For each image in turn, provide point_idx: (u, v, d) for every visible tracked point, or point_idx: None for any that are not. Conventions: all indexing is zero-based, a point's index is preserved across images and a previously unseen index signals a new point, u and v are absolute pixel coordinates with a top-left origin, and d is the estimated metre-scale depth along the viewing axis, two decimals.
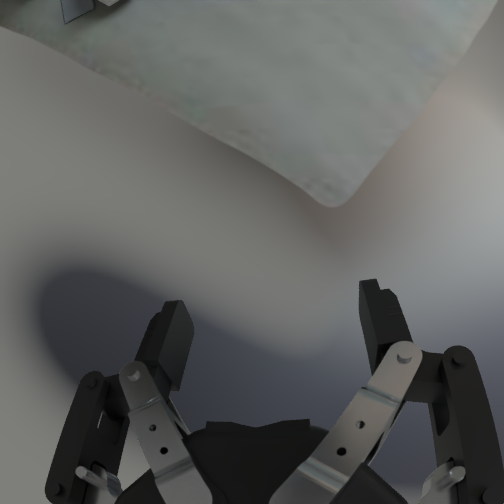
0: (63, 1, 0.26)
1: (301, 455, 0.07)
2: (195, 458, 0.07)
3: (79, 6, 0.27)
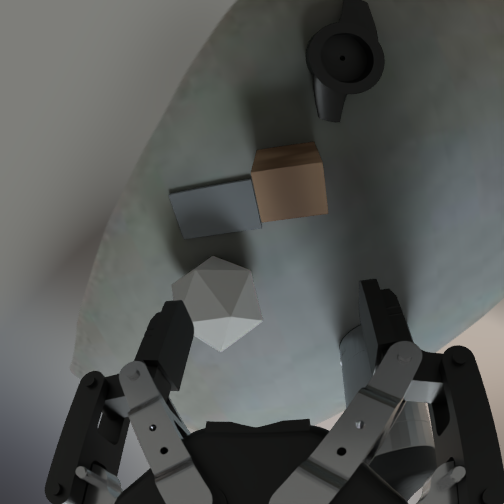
0: (207, 190, 0.29)
1: (301, 455, 0.07)
2: (195, 458, 0.07)
3: (191, 218, 0.30)
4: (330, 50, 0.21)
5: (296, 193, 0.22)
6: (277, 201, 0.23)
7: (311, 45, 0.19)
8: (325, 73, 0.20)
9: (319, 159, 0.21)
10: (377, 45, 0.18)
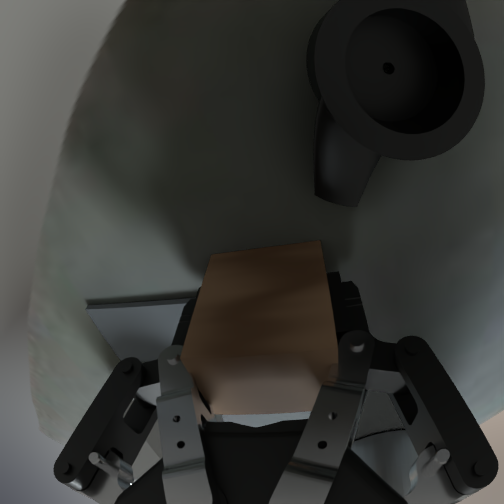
0: (137, 311, 0.17)
1: None
2: (210, 458, 0.07)
3: (124, 340, 0.18)
4: (365, 46, 0.09)
5: (278, 389, 0.10)
6: (240, 396, 0.11)
7: (325, 24, 0.07)
8: (350, 100, 0.08)
9: (331, 330, 0.09)
10: (476, 58, 0.06)
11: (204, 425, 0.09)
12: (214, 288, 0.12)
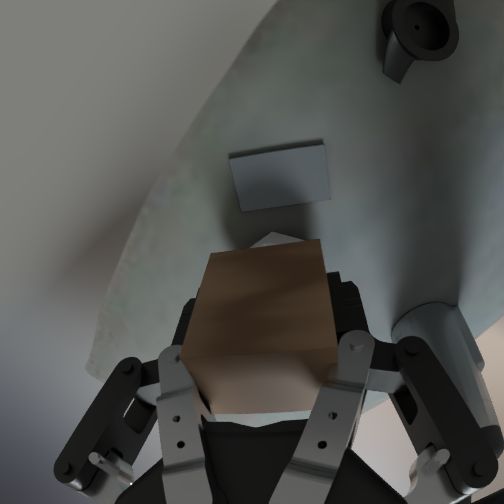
0: (274, 155, 0.25)
1: None
2: (210, 458, 0.07)
3: (253, 187, 0.27)
4: (407, 16, 0.17)
5: (278, 388, 0.10)
6: (239, 395, 0.11)
7: (397, 2, 0.15)
8: (404, 31, 0.16)
9: (331, 328, 0.09)
10: (455, 26, 0.15)
11: (204, 425, 0.09)
12: (213, 287, 0.12)
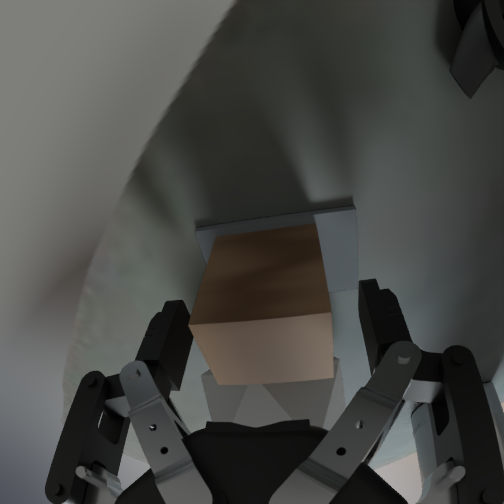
0: (271, 226, 0.15)
1: (301, 455, 0.07)
2: (195, 458, 0.07)
3: None
4: None
5: (278, 355, 0.12)
6: (242, 364, 0.12)
7: None
8: (499, 12, 0.06)
9: (325, 297, 0.11)
10: None
11: (179, 432, 0.09)
12: (219, 265, 0.14)
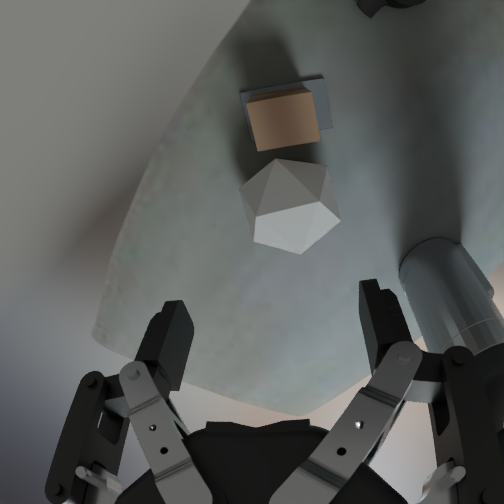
0: (280, 88, 0.26)
1: (301, 455, 0.07)
2: (195, 458, 0.07)
3: None
4: None
5: (289, 121, 0.23)
6: (271, 129, 0.23)
7: None
8: None
9: (308, 91, 0.22)
10: None
11: (178, 432, 0.09)
12: (256, 97, 0.25)
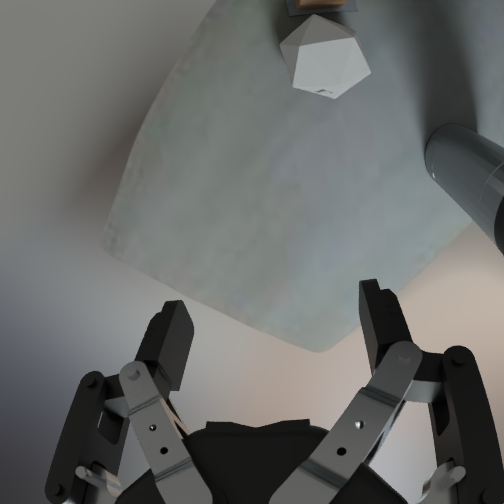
0: None
1: (301, 455, 0.07)
2: (195, 458, 0.07)
3: None
4: None
5: None
6: None
7: None
8: None
9: None
10: None
11: (178, 432, 0.09)
12: None
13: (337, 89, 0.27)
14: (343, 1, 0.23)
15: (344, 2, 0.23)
